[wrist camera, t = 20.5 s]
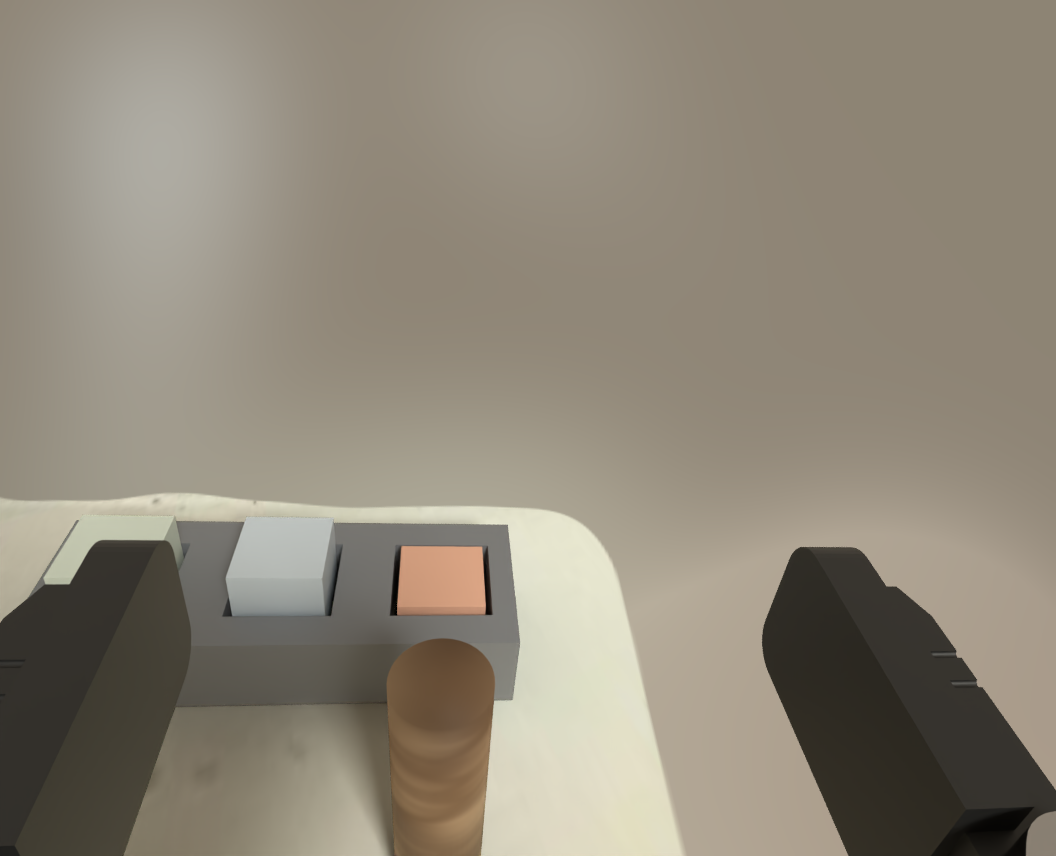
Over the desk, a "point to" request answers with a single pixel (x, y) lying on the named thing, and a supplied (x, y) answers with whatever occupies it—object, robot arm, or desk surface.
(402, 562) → the terracotta key
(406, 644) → the key console
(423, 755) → the brown wooden cylinder
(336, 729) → the desk surface
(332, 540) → the grey-blue key
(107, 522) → the sage key
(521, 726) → the desk surface
